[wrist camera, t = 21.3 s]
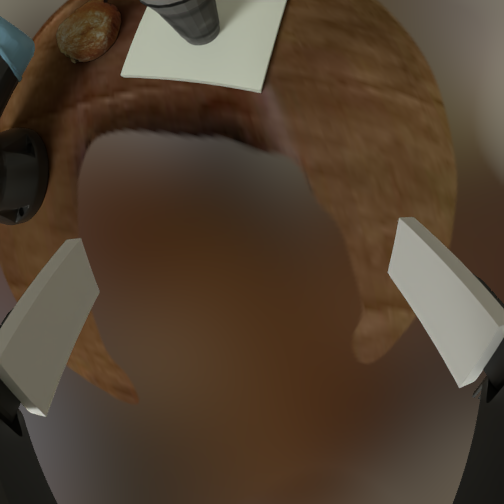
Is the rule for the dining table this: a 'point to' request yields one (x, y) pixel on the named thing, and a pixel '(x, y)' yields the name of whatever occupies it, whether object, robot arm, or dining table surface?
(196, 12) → the beverage cup
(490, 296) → the robot arm
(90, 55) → the bread roll
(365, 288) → the dining table surface
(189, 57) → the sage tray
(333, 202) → the dining table surface
